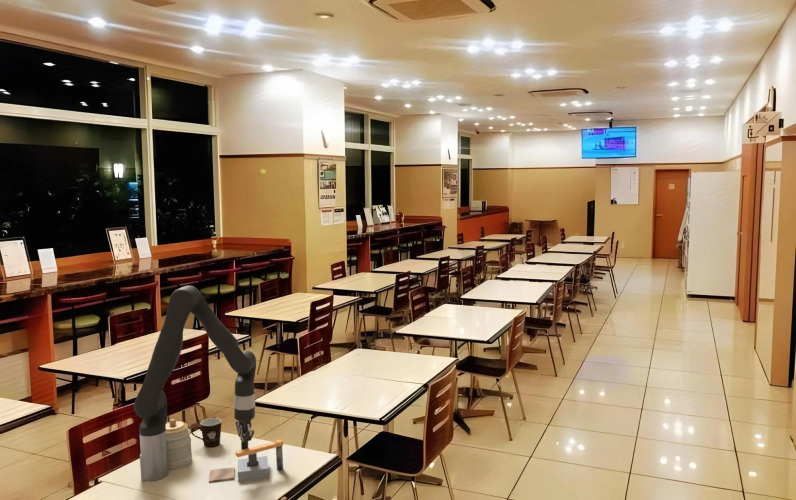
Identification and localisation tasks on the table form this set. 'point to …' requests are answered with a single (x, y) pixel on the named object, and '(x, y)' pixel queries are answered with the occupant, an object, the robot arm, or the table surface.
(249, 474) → the socket block
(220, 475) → the pad
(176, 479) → the table surface
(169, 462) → the jar
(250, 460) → the plug
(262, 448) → the orange flat bar
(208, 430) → the coffee mug
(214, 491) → the table surface
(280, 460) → the post
